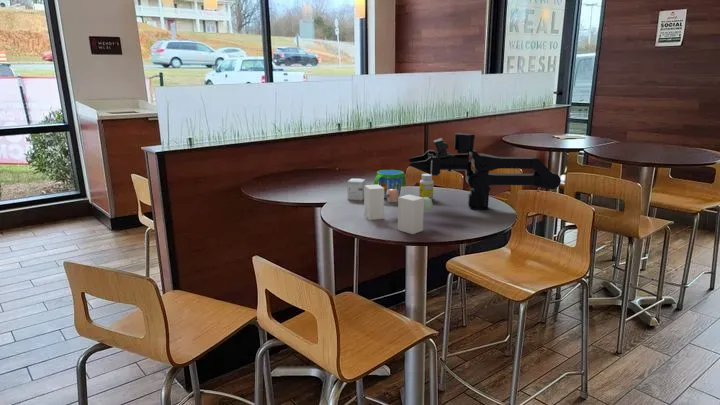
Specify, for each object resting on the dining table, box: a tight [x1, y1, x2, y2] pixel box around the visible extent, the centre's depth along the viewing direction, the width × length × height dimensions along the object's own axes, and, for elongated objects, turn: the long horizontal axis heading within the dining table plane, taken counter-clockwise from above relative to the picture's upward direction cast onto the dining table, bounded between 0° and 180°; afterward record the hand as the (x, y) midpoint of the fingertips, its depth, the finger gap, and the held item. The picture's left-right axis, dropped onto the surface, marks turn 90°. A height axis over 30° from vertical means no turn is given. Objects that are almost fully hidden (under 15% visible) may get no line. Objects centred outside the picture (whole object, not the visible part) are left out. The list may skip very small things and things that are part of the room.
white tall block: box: [363, 183, 385, 221], centre depth 165 cm, size 5×6×10 cm
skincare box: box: [347, 178, 367, 201], centre depth 190 cm, size 6×6×7 cm
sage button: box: [423, 197, 433, 213], centre depth 153 cm, size 6×4×4 cm
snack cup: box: [373, 169, 407, 200], centre depth 191 cm, size 16×10×10 cm
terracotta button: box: [384, 189, 400, 203], centre depth 166 cm, size 6×4×4 cm
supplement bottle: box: [418, 173, 434, 200], centre depth 189 cm, size 5×5×10 cm
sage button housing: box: [397, 194, 425, 235], centre depth 150 cm, size 5×6×10 cm
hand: (409, 162), depth 174 cm, fingers open, 9 cm apart
